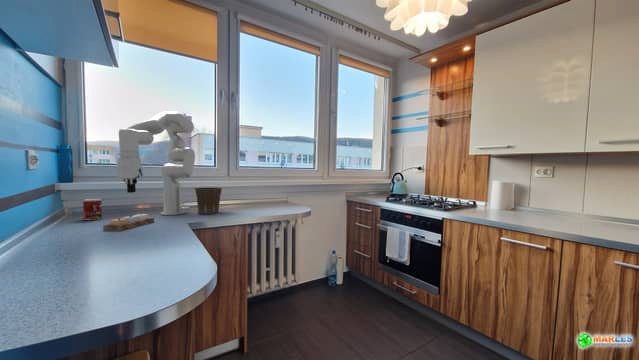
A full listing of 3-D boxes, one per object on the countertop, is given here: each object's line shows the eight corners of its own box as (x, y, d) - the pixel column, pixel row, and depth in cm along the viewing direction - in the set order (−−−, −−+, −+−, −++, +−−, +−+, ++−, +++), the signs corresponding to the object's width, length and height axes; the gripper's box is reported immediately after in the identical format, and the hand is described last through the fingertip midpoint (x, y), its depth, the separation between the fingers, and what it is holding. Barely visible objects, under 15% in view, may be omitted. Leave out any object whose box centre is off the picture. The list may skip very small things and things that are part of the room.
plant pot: (222, 210, 177) (222, 187, 176) (222, 214, 161) (222, 188, 161) (196, 211, 171) (196, 187, 170) (193, 215, 156) (193, 189, 155)
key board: (139, 221, 137) (139, 217, 137) (153, 222, 136) (153, 217, 136) (103, 230, 117) (103, 225, 117) (120, 231, 116) (120, 225, 116)
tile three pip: (118, 225, 123) (118, 217, 122) (127, 226, 122) (127, 218, 122) (110, 228, 118) (109, 219, 118) (119, 228, 117) (119, 219, 117)
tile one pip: (140, 220, 135) (140, 213, 135) (148, 221, 135) (148, 213, 135) (133, 222, 131) (133, 214, 130) (141, 222, 130) (141, 215, 130)
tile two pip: (130, 223, 129) (130, 215, 129) (138, 223, 128) (138, 215, 128) (122, 225, 124) (122, 217, 124) (130, 225, 124) (130, 217, 124)
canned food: (85, 221, 136) (85, 200, 136) (81, 219, 141) (81, 199, 140) (104, 219, 142) (103, 199, 142) (99, 217, 147) (99, 198, 147)
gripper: (108, 154, 122) (110, 192, 124) (137, 154, 121) (139, 193, 122) (122, 154, 130) (124, 190, 131) (149, 155, 128) (151, 191, 130)
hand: (131, 192), depth 127 cm, fingers closed
